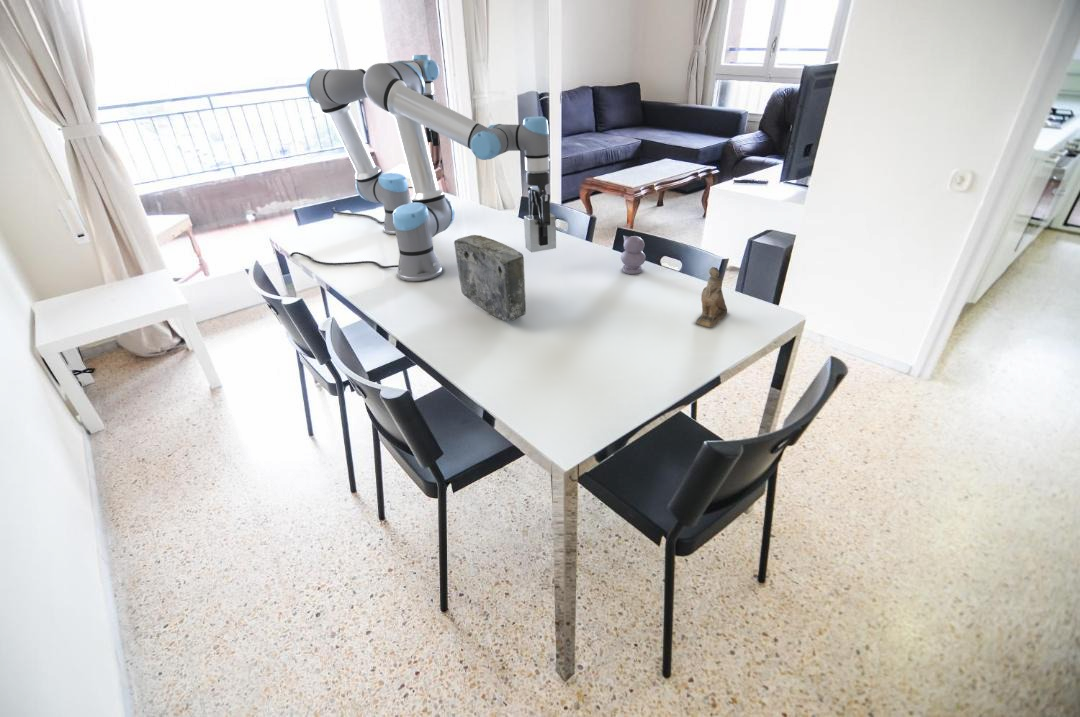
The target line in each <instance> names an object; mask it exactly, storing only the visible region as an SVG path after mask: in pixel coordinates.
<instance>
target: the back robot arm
mask: <svg viewBox="0 0 1080 717" xmlns="http://www.w3.org/2000/svg"><path fill="white" fill-rule="evenodd" d="M394 62H403V63H408V64H411V65H413V66H414V67H415V68H417V69H418V71H419V72H420V73H421V75H422V77H423V79H424V83H425V93H424V95H423V96H425V97H427V98H429V99H431V100H433V101H435V102H436V95H435V94H434V93H435V87H436V86H435V85H434V81H436V80H437V79H438V78H439V76H440V68H439V65H438V63H437V61H435V60H433V59H431V58H430V56H429V55H428V54H413V55H412V60H395V61H393V62H392V63H394ZM366 71H367V70H365V69H363V68H358V69H339V68H333V69H331V68H330V69H329V68H328V69H325V68H321V69H316V70H313V71H311V72H310V73H309V74H308V76H307V78H306V82H305V88H306V92H307V94H308V97H309V98H310V99H311V100H312V101H313V102H314V103H316V104H318V105H319V107H320V109H321V111H322V114H324V115H327V116H328V118H330V121H331V123H332V125H333V127H334V129H335V131H336V133H337V135H338V137H339V140H340V141H341V143H342V145H343V148H344V150H345V151H346V153H347V156H348V157H349V160H350V162H351V164H352V166H353V168H354V170H355V175H354V177H355V189H356V190H355V191H356V192H357V194H358V195H359V196H360V197H361V199H363V200H365V201H367V202H370V203H377V204H382V205H383V210H384V220H383V221H380V220H379V219H377V218H376V217H374V216H371V215H368V214H362V213H353V212H344V211H343V212H342V211H338V210H336V208H335V207H333V208H332V210H333V212H334V213H335V214H340V215H348V216H359V217H366V218H370V219H372V220H374V221H376V222H377V223H379V224H383V231H384V233H385V234H387V235H395V236H396V232H395V227H394V224H393V212H394V210H395V209H396V208H398V207H399V206H401V205H404V204H405V205H406V204H408V203H412V200H411V195H410V190H409V182H408V180H407V177H406V176H405V175H403V174H401V173H397V172H394V173H393V172H384V173H383V171H382V169H381V167H380V166H378V165H376V164H375V162H374V159H373V157H372V155H371V153H370V151H369V148H368V147H367V146H368V145H367V144H366V141H365V140H364V138H363V135H362V132H361V130H360V128H359V126H358V124H357V122H356V120H355V117H354V115H353V112H352V111H351V109H350V108H351V104H352V103H355V102H357V101H360V100H364V99H367V98H368V97H367V95H366V93H365V90H364V86H363V79H364V75H365V73H366ZM425 134H426V138H427V142H428V143H431V144H432V147H438V146H439V145H440V144H439V136H438V133H437V132H435V131H433V130H431V129H429V128H427V127H425Z"/></svg>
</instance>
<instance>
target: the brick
mask: <svg viewBox="0 0 1080 717" xmlns="http://www.w3.org/2000/svg"><path fill="white" fill-rule="evenodd" d="M523 224H524V243H525V244H524V245H525V249H526V250H527V251H529V253H536V252H537V253H538V252H543V251H549V250H554V249H557V221H556V215H554V214H553V213H551V212H550V225H548V226H547V229H548V245H543V246H540V239H539V227H538V225H540V220H539V214H534V215H529V214H528V215H524V216H523Z"/></svg>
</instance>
